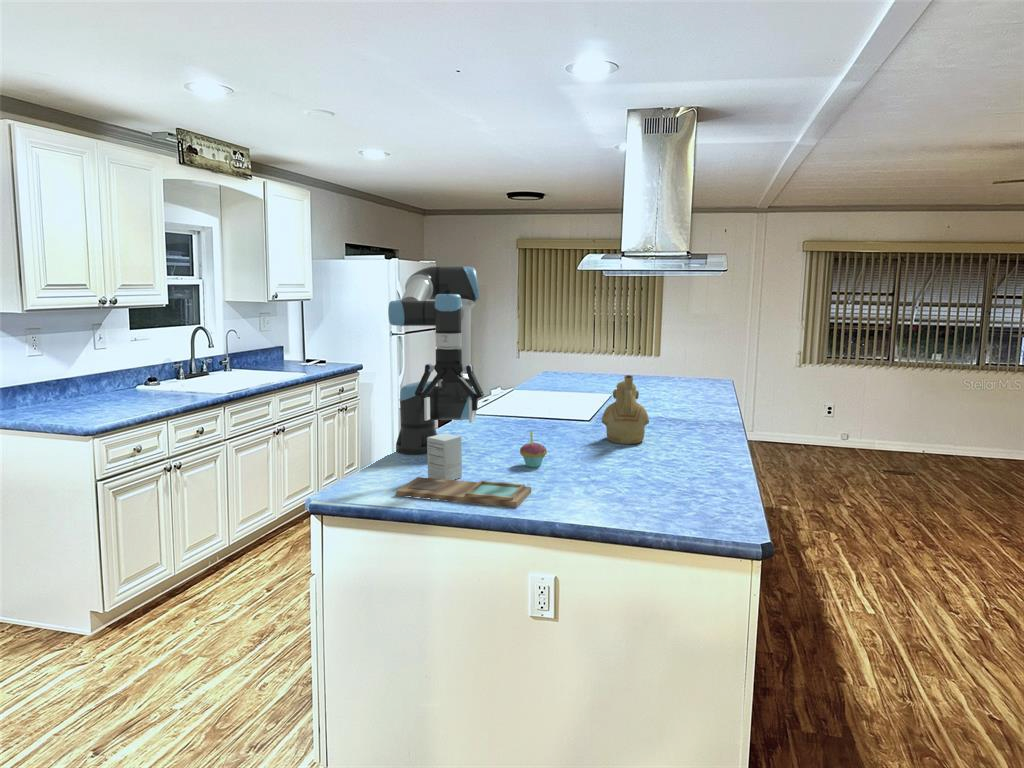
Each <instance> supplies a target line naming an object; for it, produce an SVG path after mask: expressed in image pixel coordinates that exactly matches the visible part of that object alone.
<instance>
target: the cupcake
mask: <svg viewBox="0 0 1024 768" xmlns="http://www.w3.org/2000/svg"><path fill="white" fill-rule="evenodd" d="M529 435H530V442H529V443H525V444H523V445H522V446H521V448H520V449H519V454H520V455H521V456H522V457H523V460H524V464H525V466H526V467H528V466H529V467H528V468H539V467H541V466H542V463H543V460H544V458H545V456H546V455H547V454H548V452H547V448H546V447H545V446H544V445H542V444H541V443H538V442H537V443H536V442H534V437H533V436H534V435H533V431H532V429H530V434H529ZM538 466H539V467H538Z"/></svg>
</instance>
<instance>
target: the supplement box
mask: <svg viewBox="0 0 1024 768" xmlns="http://www.w3.org/2000/svg"><path fill="white" fill-rule="evenodd" d="M426 455H427V457H426V458H427V478H433V479H445V480H455V479H456V480H458V478H459V479H461V477H462V478H463V471H462V470H463V469H462V468H463V467H462V466H463V465H462V462H463V461H462V458H463V457H462V436H460V435H455V434H450V433H446V432H445V433H440V434H437V435H435V436H431V437H427V454H426Z"/></svg>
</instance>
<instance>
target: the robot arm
mask: <svg viewBox="0 0 1024 768" xmlns="http://www.w3.org/2000/svg"><path fill="white" fill-rule="evenodd" d="M477 277H478V276H477V270H476V269H475V268H474V267H472V266H463V265H461V266H428V267H425V268H422V269H420V270H417V271H416V272H414V273H412V275H410V276H409V277H408V279H407V281H406V283H405V285H404V290H405V291H404V292H403V295H402V297H401V299H400V300H399V299H398V300H391V301H389V303H388V309H387V310H388V311H387V313H388V314H387V316H388V322H389V324H390V325H391V326H395V327H396V326H398V327H411V326H412V327H415V326H416V327H418V326H419V327H420V326H422V327H423V326H424V327H427V326H431V327H433V326H434V327H435V333H434V334H435V336H434V337H435V347H437V348H436V349H435V364H431V363H427V364H425V365H424V372H423V374H422V376H421V379H420V381H417V382H412V383H408V384H405V385H403V386H402V387H401V388H400V390H399V392H400V393H399V408H400V409H399V411H400V413H399V414H400V415H399V417H400V430H399V433H398V435H397V439H396V443H395V451H396V452H397V453H399V454H402V455H408V456H409V455H412V456H419V455H421V456H422V455H427V437H431V436H435V435H438V433H437V429H436V421H461V422H462V421H465V420H466V421H467V420H468V422H469V423H473V422H475V417H476V415H477V410H478V405H479V404H478V403H479V399H481V398H482V397H484V395H485V394H484V392H483V390H482V387H481V385H480V383H479V382H478V379H477V376H476V375H475V373H474V366H473V365H472V363H471V361H472V360H471V359H472V357H471V353H472V347H471V346H472V345H471V344H472V342H471V341H472V337H471V336H472V309H473V308H474V307H475V306H476V301H479V300H480V292H479V283H478V278H477ZM434 370H435V373H436V375H435V376H434V378H433V379H432V380H431V381H430V380H429V378H430V376H431V373H432V372H433V371H434ZM428 380H429V381H428ZM439 382H440V385H438V383H439Z"/></svg>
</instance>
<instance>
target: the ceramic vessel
mask: <svg viewBox="0 0 1024 768" xmlns="http://www.w3.org/2000/svg"><path fill="white" fill-rule="evenodd" d="M633 381H634V376H633V375H630V374H627V375H624V380H621V381H619V383H617V384H616V386H615V387H616V389H613V391H612V396H613V399H615V401H614V402H613V403H611V404H609V405H608V406H607V407H606V408H605V410H604V412H603V413H602V416H601V423H602V424H603V425H605V429H606V437H607V439H608V440H609V442H612V443H614V444H621V445H634V444H635V445H636V444H640V443H641V442H643V440H644V439H645V433H646V431H645V430H646V429H645V427H646V426H647V425H649V423H650V420H649V415H648V413H647V412H648V411H647V410H646V408H645V407H644V406H643V405H641V404H640V403H638V402H637V400H638V399H639V395H640V393H639V390H637V386H636V384H635V383H634V382H633Z"/></svg>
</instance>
